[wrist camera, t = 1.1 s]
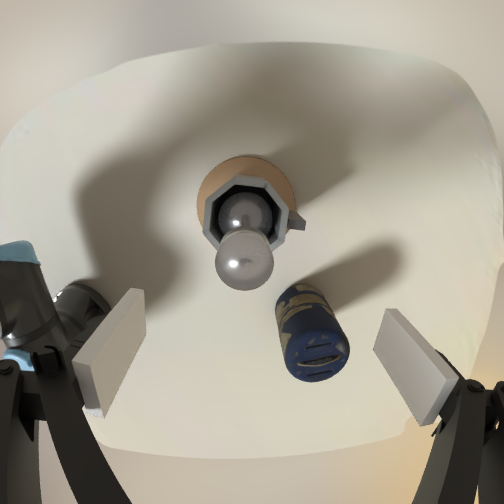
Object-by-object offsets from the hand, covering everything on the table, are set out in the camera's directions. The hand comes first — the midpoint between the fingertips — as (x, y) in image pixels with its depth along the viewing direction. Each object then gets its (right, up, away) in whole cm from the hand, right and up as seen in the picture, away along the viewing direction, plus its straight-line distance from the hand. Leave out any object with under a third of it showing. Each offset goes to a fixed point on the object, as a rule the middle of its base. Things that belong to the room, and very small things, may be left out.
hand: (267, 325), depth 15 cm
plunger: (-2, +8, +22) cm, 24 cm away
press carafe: (-2, +11, +34) cm, 36 cm away
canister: (+8, -6, +40) cm, 41 cm away
